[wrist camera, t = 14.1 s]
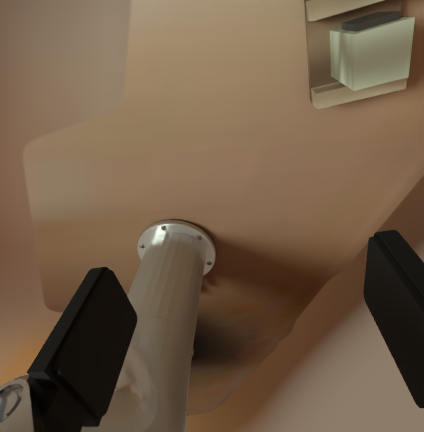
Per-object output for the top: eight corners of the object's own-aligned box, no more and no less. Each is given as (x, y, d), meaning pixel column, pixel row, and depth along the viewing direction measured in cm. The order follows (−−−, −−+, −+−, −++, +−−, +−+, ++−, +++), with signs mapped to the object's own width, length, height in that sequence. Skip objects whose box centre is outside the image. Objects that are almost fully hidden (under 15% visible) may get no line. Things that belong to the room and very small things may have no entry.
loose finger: (373, 64, 28) (408, 77, 22) (331, 76, 28) (353, 90, 23) (376, 10, 25) (416, 8, 19) (329, 24, 26) (354, 26, 20)
